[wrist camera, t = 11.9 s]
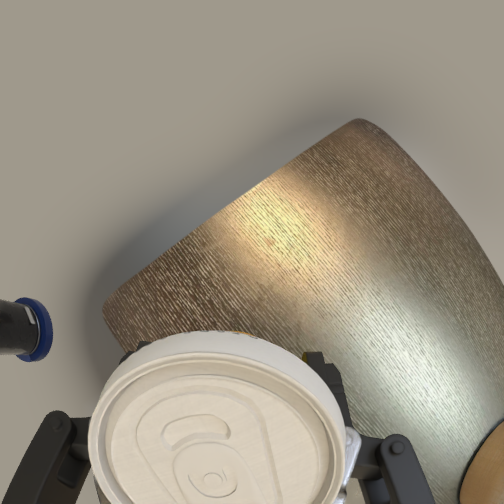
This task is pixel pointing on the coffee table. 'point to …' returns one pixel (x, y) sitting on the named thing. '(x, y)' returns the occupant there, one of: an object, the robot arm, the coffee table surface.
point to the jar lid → (354, 492)
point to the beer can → (217, 425)
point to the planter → (486, 472)
